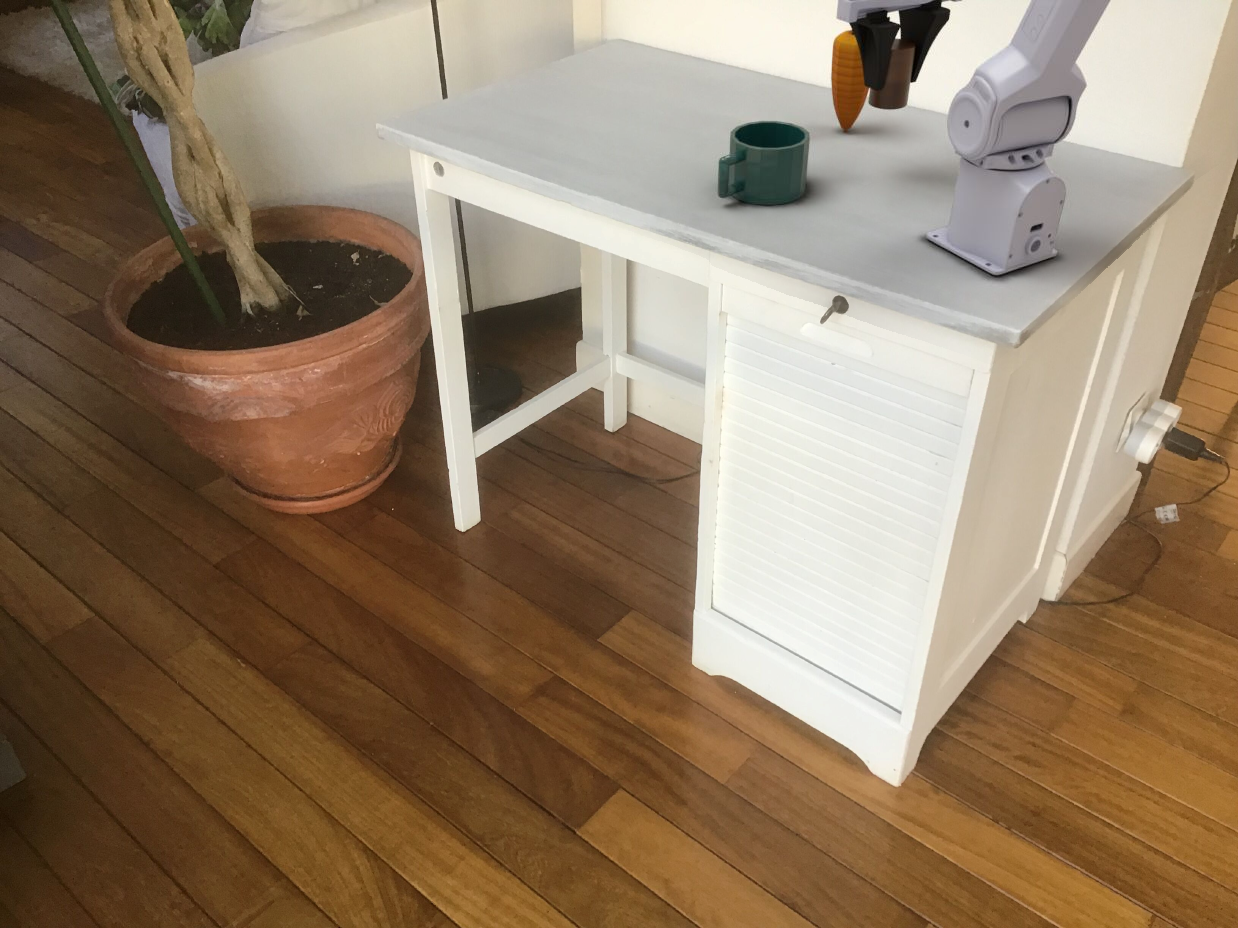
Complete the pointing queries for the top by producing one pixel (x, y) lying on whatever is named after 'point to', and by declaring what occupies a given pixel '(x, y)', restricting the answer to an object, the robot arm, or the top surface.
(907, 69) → the walnut peg
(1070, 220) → the top surface
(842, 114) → the carrot
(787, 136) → the mug
